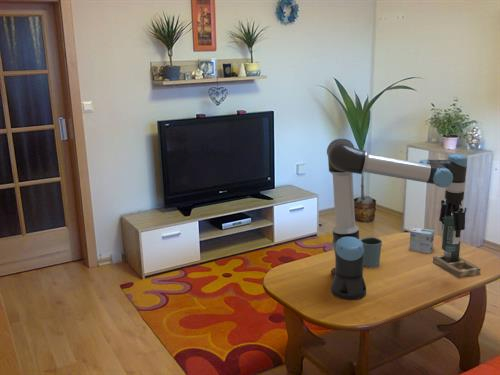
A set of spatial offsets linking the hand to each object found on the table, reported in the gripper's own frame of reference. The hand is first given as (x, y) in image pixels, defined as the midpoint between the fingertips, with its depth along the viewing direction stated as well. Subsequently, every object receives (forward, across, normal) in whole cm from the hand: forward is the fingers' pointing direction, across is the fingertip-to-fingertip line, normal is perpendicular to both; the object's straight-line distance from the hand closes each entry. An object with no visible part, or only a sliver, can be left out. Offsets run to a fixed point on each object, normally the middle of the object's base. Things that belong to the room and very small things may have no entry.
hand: (450, 240), depth 226 cm
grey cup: (+19, +28, +22) cm, 41 cm away
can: (+4, 0, 0) cm, 4 cm away
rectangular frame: (+19, +9, -12) cm, 24 cm away
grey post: (+19, +13, -12) cm, 26 cm away
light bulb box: (+19, +34, -10) cm, 40 cm away
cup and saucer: (+20, +21, +41) cm, 50 cm away
